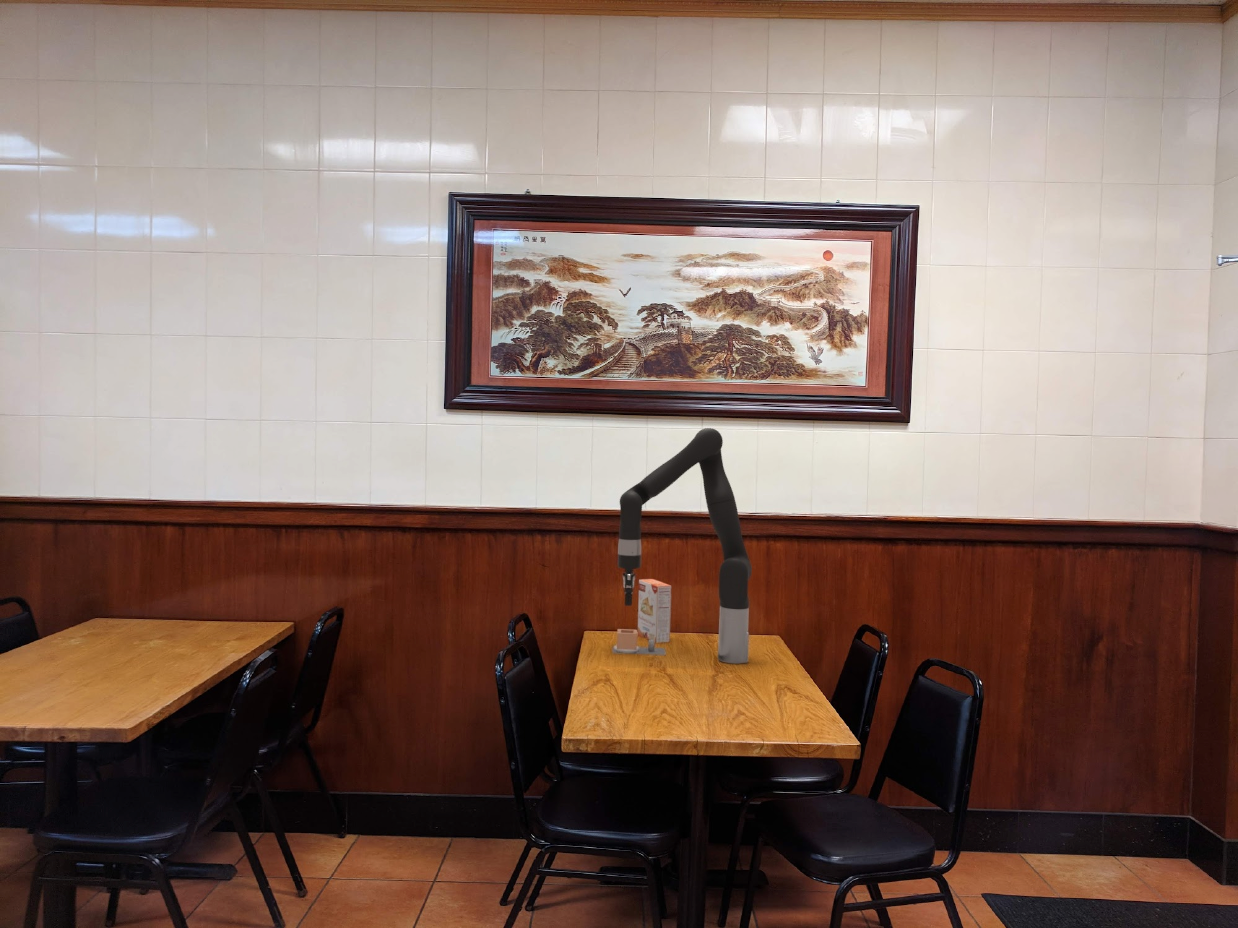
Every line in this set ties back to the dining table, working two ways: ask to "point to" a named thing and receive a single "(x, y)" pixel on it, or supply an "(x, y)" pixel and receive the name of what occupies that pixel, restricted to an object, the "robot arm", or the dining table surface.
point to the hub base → (642, 649)
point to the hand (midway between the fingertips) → (628, 602)
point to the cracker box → (654, 610)
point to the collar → (627, 639)
